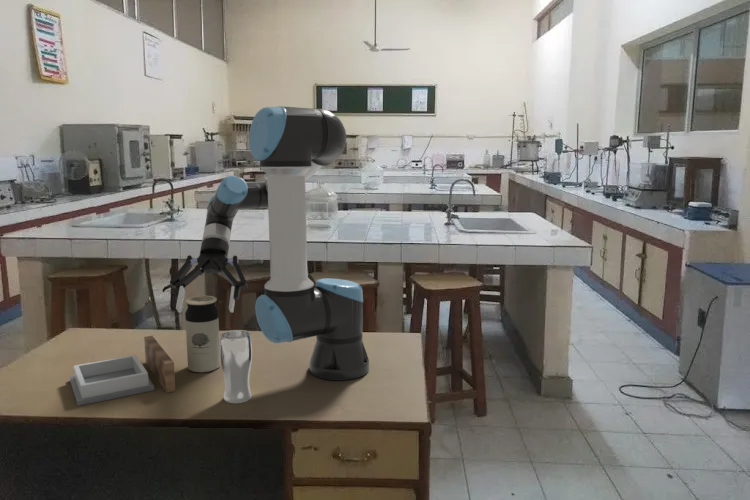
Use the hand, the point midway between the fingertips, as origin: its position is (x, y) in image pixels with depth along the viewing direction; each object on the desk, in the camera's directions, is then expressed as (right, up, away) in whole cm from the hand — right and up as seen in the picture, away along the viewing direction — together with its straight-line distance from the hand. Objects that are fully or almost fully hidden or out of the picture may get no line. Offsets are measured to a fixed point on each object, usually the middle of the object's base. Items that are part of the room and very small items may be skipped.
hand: (204, 310), depth 154 cm
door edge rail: (-8, -15, -9) cm, 20 cm away
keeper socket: (-18, -16, -15) cm, 28 cm away
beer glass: (+14, -18, -21) cm, 31 cm away
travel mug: (+1, -14, -3) cm, 15 cm away
